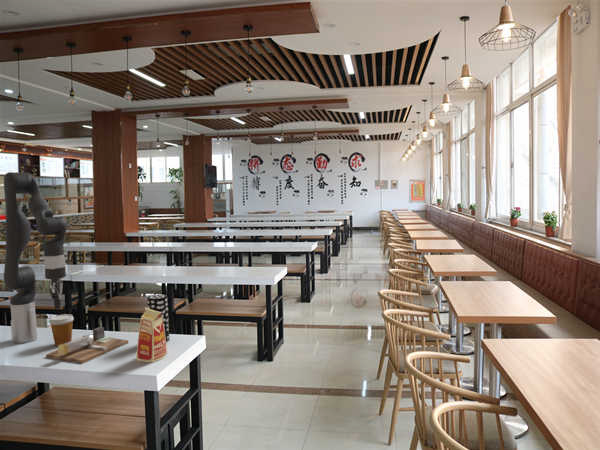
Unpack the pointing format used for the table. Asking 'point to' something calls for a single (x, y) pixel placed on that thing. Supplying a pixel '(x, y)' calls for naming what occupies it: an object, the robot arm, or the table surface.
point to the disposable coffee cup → (62, 328)
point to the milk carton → (151, 337)
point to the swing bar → (76, 344)
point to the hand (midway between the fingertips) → (57, 308)
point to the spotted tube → (160, 309)
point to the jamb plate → (90, 348)
